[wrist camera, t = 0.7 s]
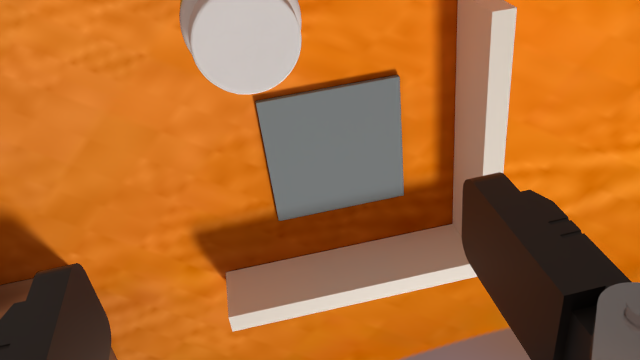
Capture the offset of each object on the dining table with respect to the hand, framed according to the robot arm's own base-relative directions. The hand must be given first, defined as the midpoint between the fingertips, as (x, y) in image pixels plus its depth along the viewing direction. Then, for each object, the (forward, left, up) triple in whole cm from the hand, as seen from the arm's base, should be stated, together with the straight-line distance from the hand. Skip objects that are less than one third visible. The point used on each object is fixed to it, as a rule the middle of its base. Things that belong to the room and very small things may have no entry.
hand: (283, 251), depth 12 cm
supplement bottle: (0, -1, -19) cm, 19 cm away
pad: (-4, +9, -19) cm, 21 cm away
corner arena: (-4, +9, -19) cm, 21 cm away
